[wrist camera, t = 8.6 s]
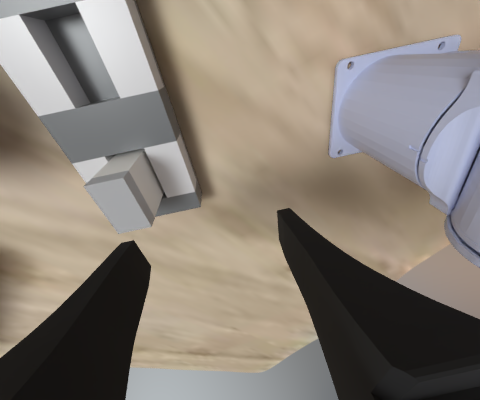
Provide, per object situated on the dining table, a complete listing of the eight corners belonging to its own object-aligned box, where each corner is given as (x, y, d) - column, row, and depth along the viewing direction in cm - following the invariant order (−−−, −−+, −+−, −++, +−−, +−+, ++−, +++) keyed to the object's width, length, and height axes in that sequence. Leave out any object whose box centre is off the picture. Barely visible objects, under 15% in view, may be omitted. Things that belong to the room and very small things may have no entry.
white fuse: (120, 149, 17) (83, 186, 12) (148, 143, 17) (122, 177, 12) (142, 189, 19) (118, 233, 14) (166, 184, 19) (151, 226, 14)
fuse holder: (-14, -8, 12) (-62, -22, 10) (122, -38, 12) (103, -59, 10) (125, 208, 21) (116, 225, 19) (201, 192, 21) (200, 206, 19)
